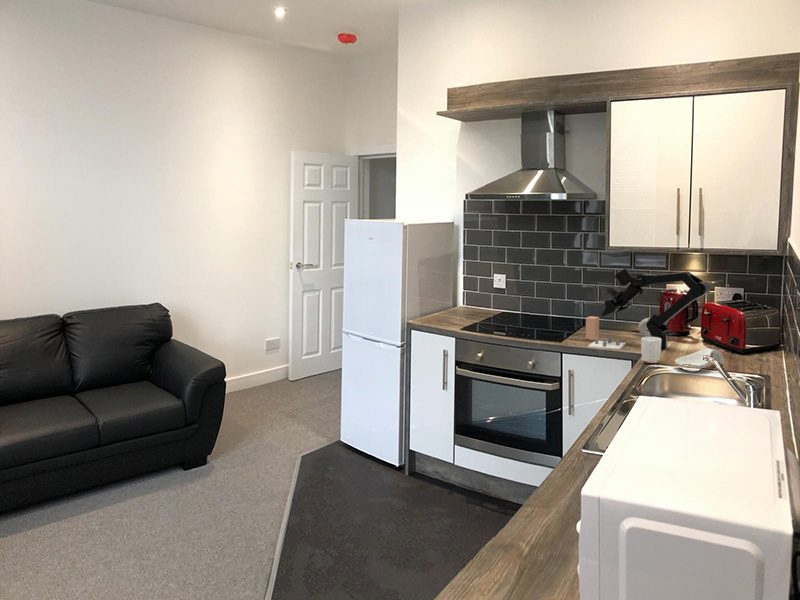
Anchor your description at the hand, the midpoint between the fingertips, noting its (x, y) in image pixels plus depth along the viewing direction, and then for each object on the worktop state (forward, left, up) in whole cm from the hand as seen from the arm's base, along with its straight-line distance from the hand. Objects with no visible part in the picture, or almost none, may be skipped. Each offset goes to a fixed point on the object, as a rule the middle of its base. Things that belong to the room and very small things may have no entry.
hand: (606, 314), depth 300 cm
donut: (-17, -16, -13) cm, 27 cm away
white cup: (-26, +35, -13) cm, 46 cm away
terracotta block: (+7, -2, -13) cm, 15 cm away
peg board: (-3, +11, -13) cm, 17 cm away
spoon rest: (-45, +37, -13) cm, 60 cm away
